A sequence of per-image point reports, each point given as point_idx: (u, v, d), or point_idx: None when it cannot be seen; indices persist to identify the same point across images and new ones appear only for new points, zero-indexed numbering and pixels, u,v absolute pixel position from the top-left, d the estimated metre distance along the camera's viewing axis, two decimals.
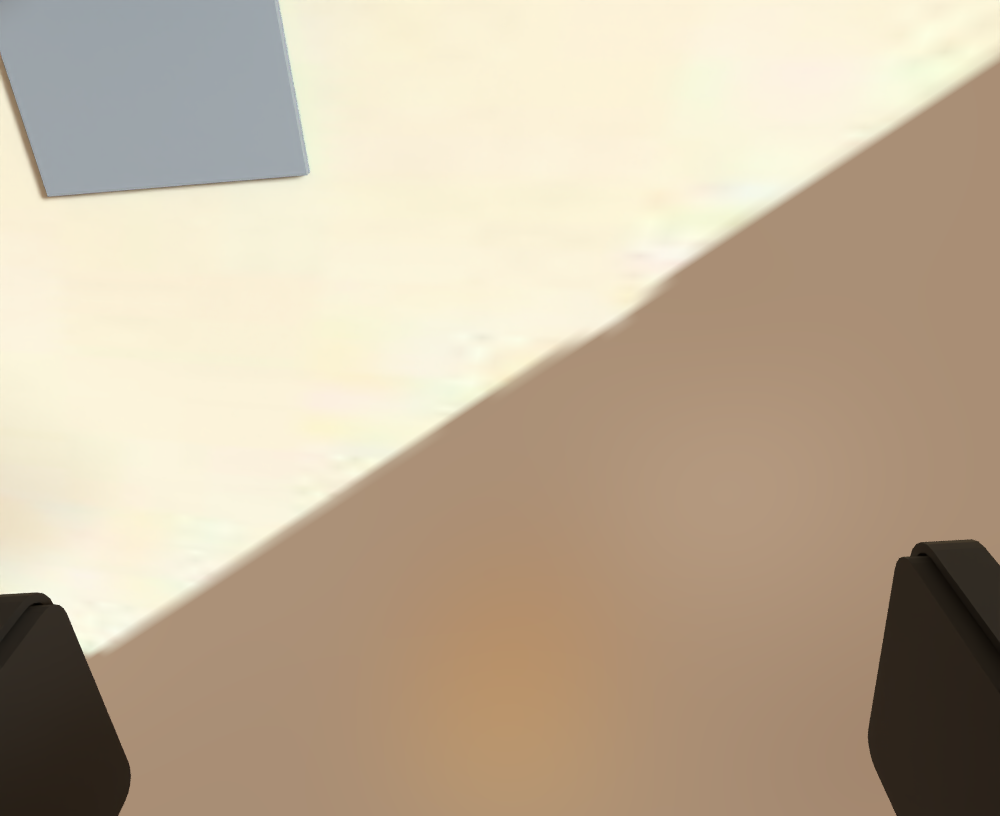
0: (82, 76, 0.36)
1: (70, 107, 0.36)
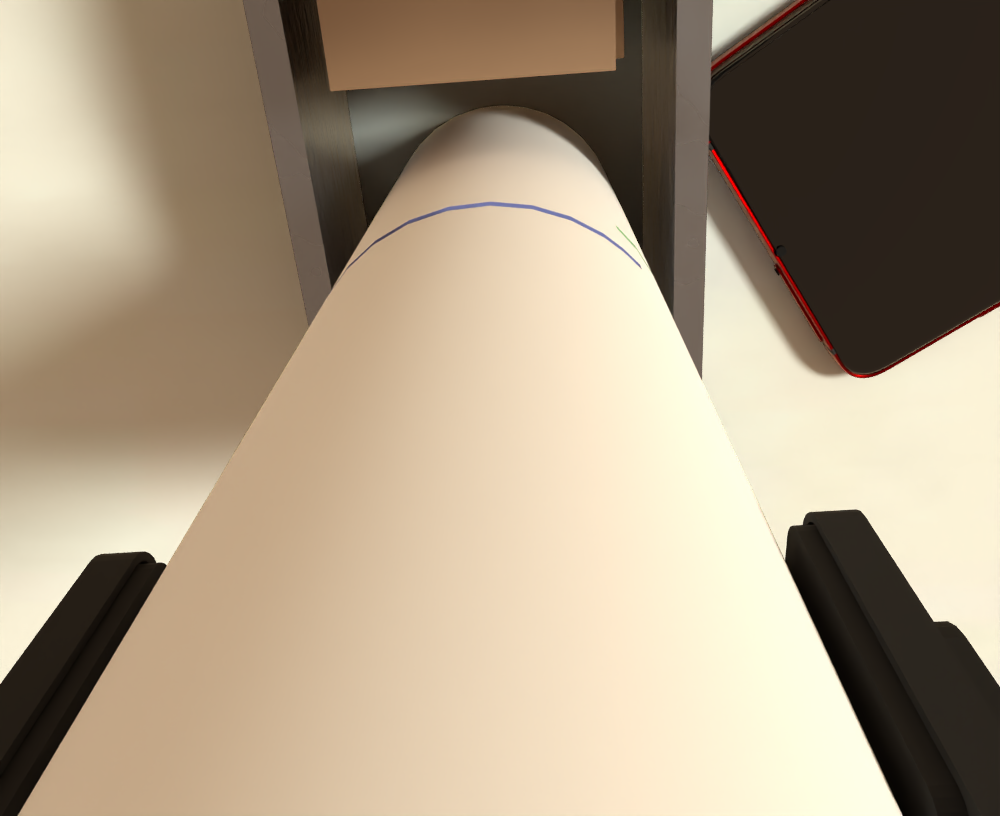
0: None
1: None
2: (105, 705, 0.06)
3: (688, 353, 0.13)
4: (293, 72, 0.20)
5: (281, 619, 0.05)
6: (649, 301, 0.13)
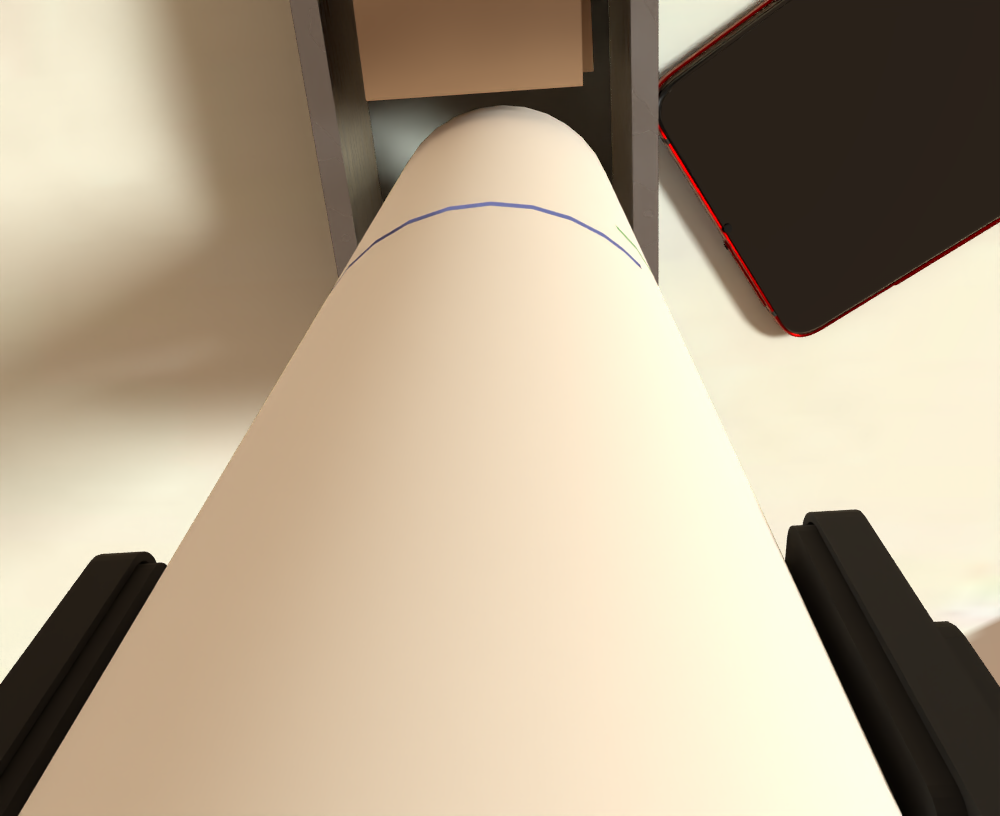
0: None
1: None
2: (106, 703, 0.06)
3: (688, 353, 0.13)
4: (331, 77, 0.25)
5: (281, 617, 0.05)
6: (649, 301, 0.13)
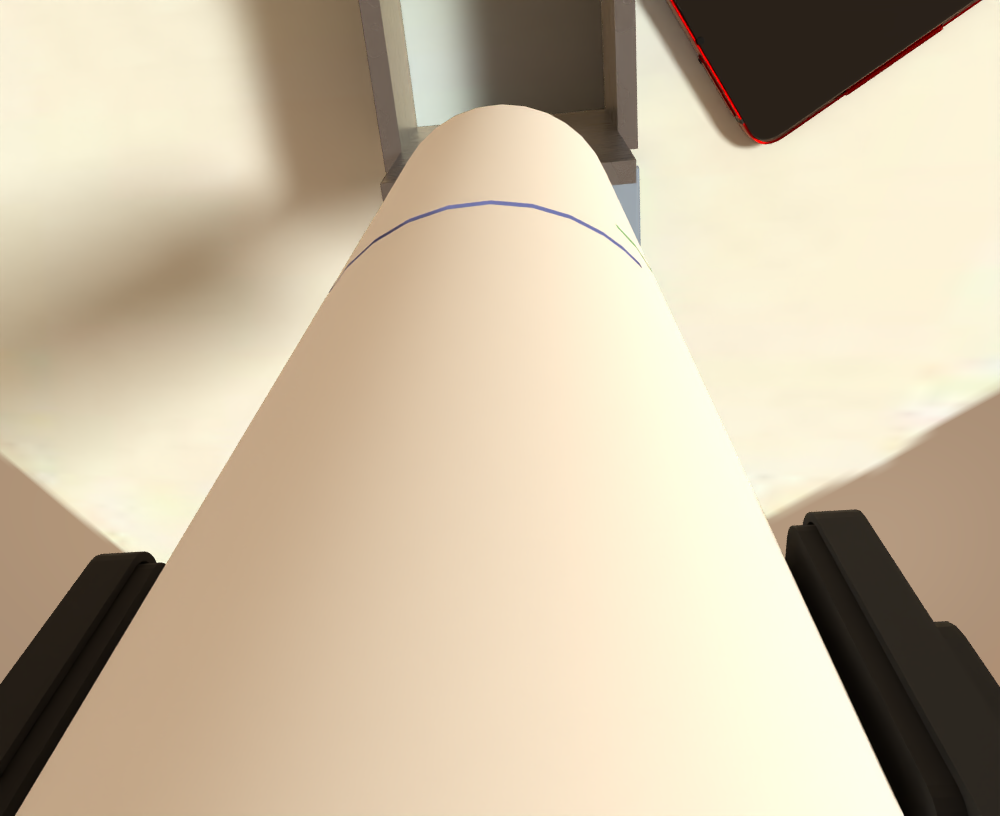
0: None
1: None
2: (104, 703, 0.06)
3: (688, 352, 0.13)
4: None
5: (281, 616, 0.05)
6: (649, 300, 0.13)
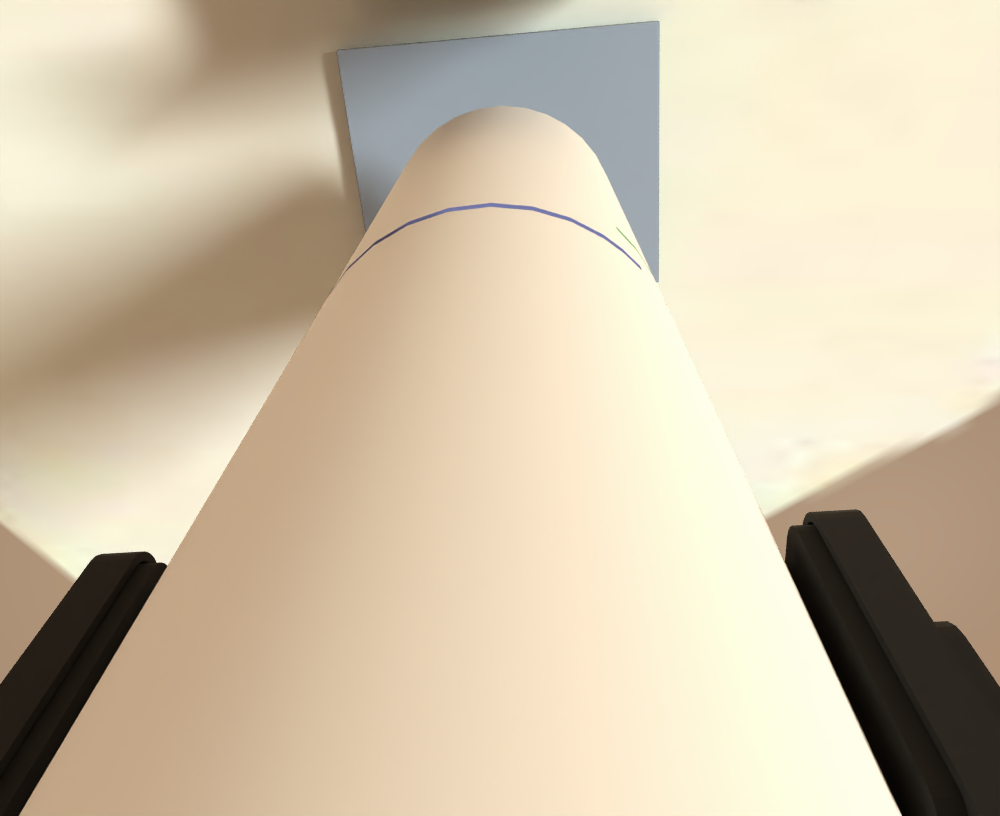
0: None
1: None
2: (103, 710, 0.06)
3: (688, 355, 0.13)
4: None
5: (279, 625, 0.05)
6: (649, 303, 0.13)
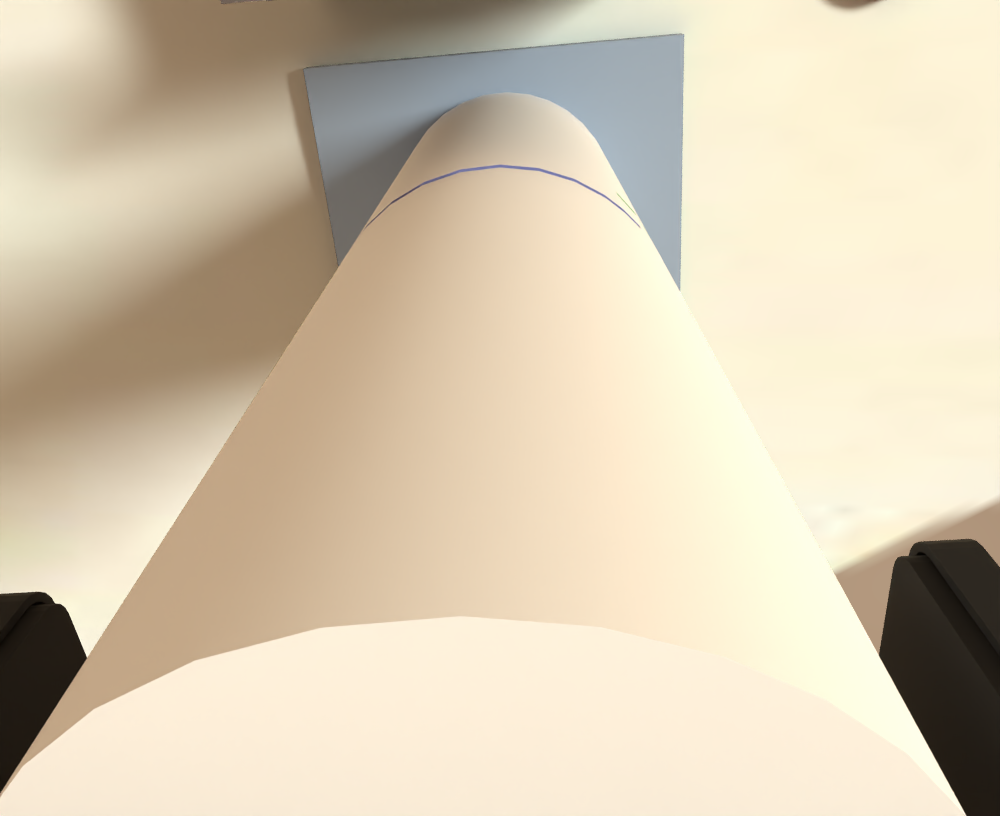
0: None
1: None
2: (185, 527, 0.07)
3: None
4: None
5: (339, 445, 0.06)
6: (648, 251, 0.14)
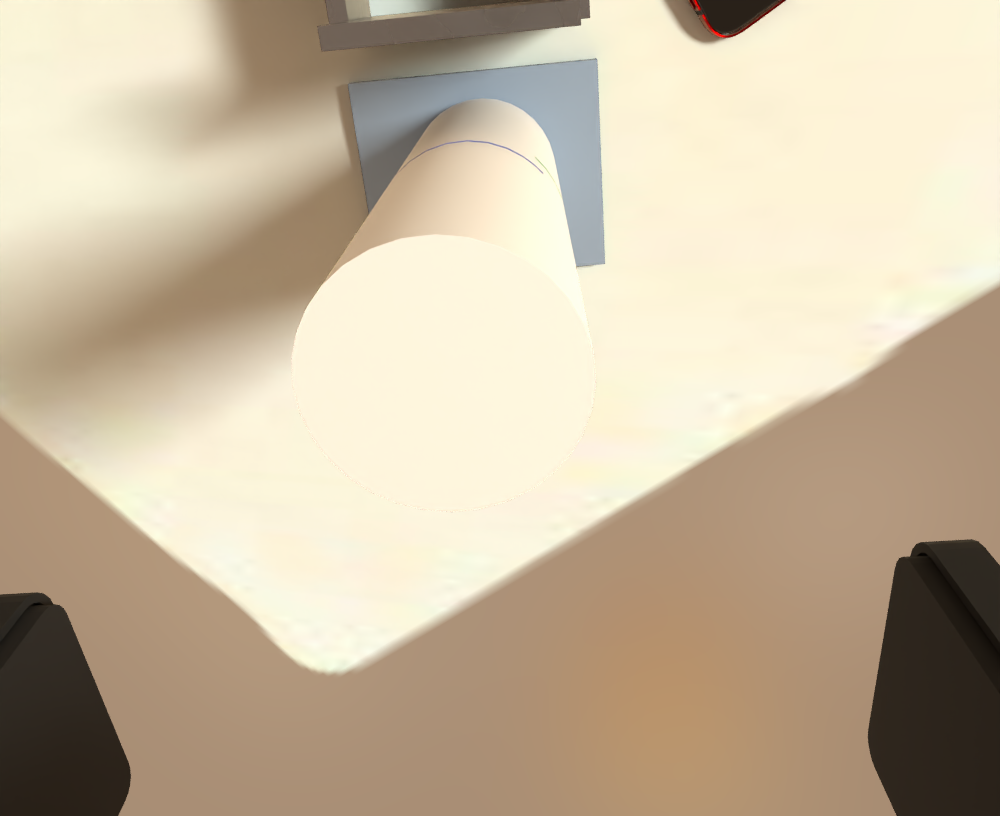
0: None
1: None
2: (348, 249, 0.20)
3: (558, 206, 0.28)
4: None
5: (399, 218, 0.20)
6: (539, 181, 0.27)
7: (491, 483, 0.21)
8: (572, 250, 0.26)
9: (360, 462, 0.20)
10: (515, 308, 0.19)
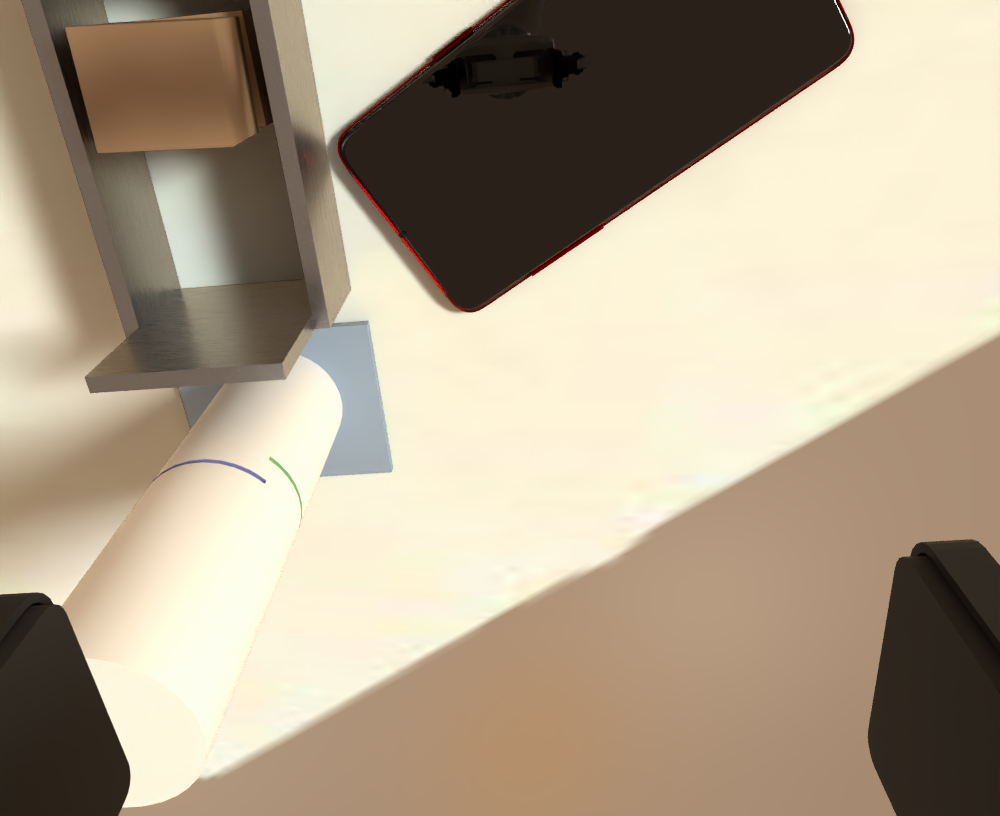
0: None
1: None
2: None
3: (263, 523, 0.36)
4: (82, 132, 0.38)
5: (75, 616, 0.29)
6: (247, 506, 0.36)
7: (147, 792, 0.29)
8: (258, 573, 0.34)
9: None
10: (139, 696, 0.27)
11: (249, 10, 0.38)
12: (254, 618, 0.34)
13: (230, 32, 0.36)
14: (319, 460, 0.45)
